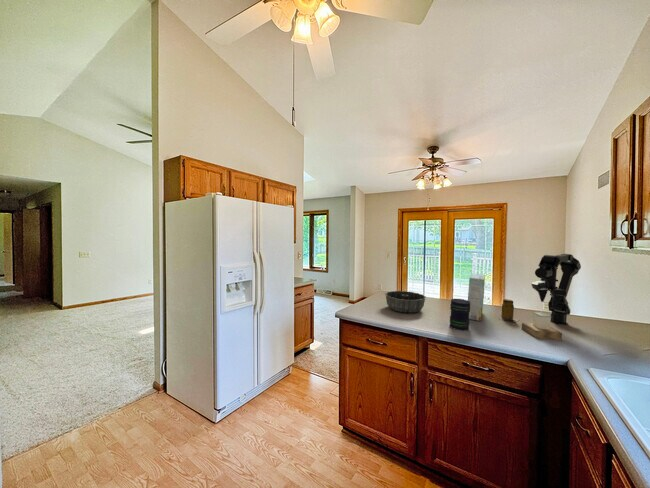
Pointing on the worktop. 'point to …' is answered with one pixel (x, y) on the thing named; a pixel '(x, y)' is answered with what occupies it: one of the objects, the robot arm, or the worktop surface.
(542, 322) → the cream block
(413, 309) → the bundt pan
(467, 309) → the storage jar
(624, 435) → the worktop surface
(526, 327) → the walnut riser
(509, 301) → the condiment
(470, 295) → the snack box
